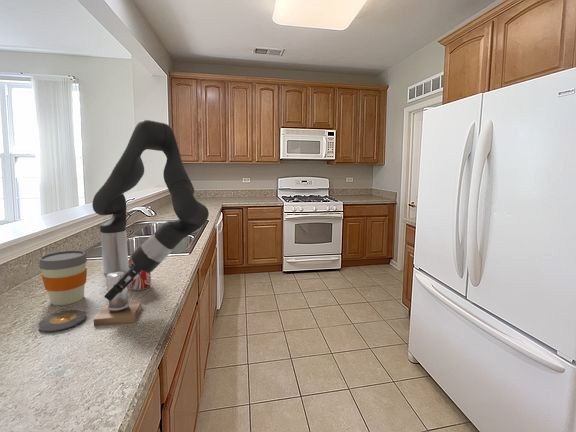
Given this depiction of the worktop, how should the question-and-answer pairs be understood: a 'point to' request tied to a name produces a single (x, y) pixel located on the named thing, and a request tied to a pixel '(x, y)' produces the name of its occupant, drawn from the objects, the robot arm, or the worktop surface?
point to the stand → (118, 315)
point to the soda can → (140, 279)
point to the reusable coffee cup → (64, 276)
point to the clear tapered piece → (121, 298)
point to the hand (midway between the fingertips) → (110, 294)
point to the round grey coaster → (62, 321)
